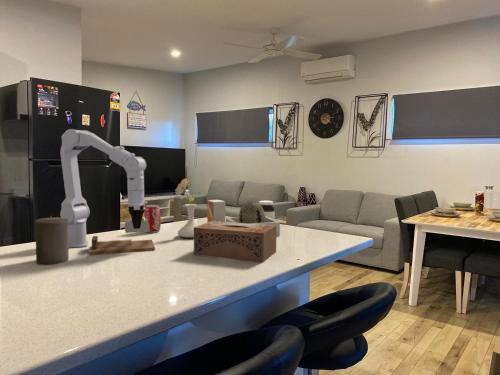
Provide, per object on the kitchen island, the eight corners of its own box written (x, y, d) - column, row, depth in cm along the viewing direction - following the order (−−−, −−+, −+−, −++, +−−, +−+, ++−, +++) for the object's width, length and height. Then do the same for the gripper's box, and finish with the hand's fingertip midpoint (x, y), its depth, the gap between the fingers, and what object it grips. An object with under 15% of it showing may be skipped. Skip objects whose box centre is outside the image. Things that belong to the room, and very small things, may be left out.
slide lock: (125, 232, 139) (125, 219, 138) (125, 229, 144) (124, 217, 144) (148, 231, 141) (148, 218, 141) (147, 228, 147) (147, 216, 147)
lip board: (90, 255, 135) (89, 242, 135) (92, 245, 148) (92, 234, 148) (154, 250, 142) (154, 238, 142) (151, 242, 155) (151, 231, 155)
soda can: (162, 230, 179) (162, 204, 178) (157, 233, 172) (157, 206, 171) (148, 230, 180) (147, 204, 179) (142, 233, 173) (141, 206, 172)
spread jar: (276, 225, 193) (277, 202, 192) (255, 226, 189) (255, 203, 188) (266, 221, 204) (267, 199, 203) (246, 222, 200) (247, 200, 199)
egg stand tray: (237, 238, 162) (237, 224, 162) (225, 230, 180) (225, 217, 179) (279, 236, 168) (279, 222, 168) (264, 228, 186) (264, 215, 185)
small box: (207, 226, 189) (206, 200, 188) (219, 225, 192) (219, 199, 191) (213, 229, 182) (213, 201, 181) (225, 228, 185) (225, 201, 184)
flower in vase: (192, 232, 174) (191, 177, 172) (210, 236, 167) (209, 178, 164) (168, 237, 164) (168, 178, 162) (186, 241, 157) (186, 179, 154)
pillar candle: (32, 265, 122) (31, 218, 121) (40, 257, 131) (39, 213, 130) (66, 264, 125) (65, 217, 123) (71, 256, 134) (70, 213, 133)
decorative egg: (248, 237, 166) (249, 202, 165) (233, 232, 175) (233, 199, 174) (270, 233, 173) (270, 200, 171) (254, 229, 182) (254, 197, 181)
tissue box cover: (276, 252, 141) (276, 225, 140) (263, 263, 127) (263, 233, 126) (212, 246, 150) (212, 220, 149) (193, 255, 136) (193, 227, 135)
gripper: (148, 191, 136) (149, 229, 137) (146, 188, 150) (146, 222, 151) (127, 192, 134) (128, 230, 135) (126, 188, 148) (127, 223, 149)
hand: (136, 226), depth 143 cm, fingers closed on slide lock, 6 cm apart
